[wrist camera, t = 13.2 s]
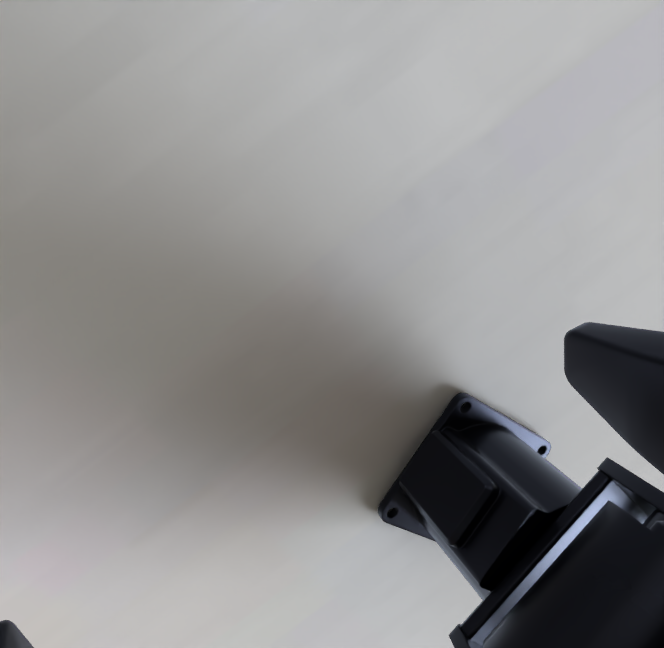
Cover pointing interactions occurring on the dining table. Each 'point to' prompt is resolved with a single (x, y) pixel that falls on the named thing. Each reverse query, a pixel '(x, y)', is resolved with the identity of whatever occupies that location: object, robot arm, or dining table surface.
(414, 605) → the dining table surface
